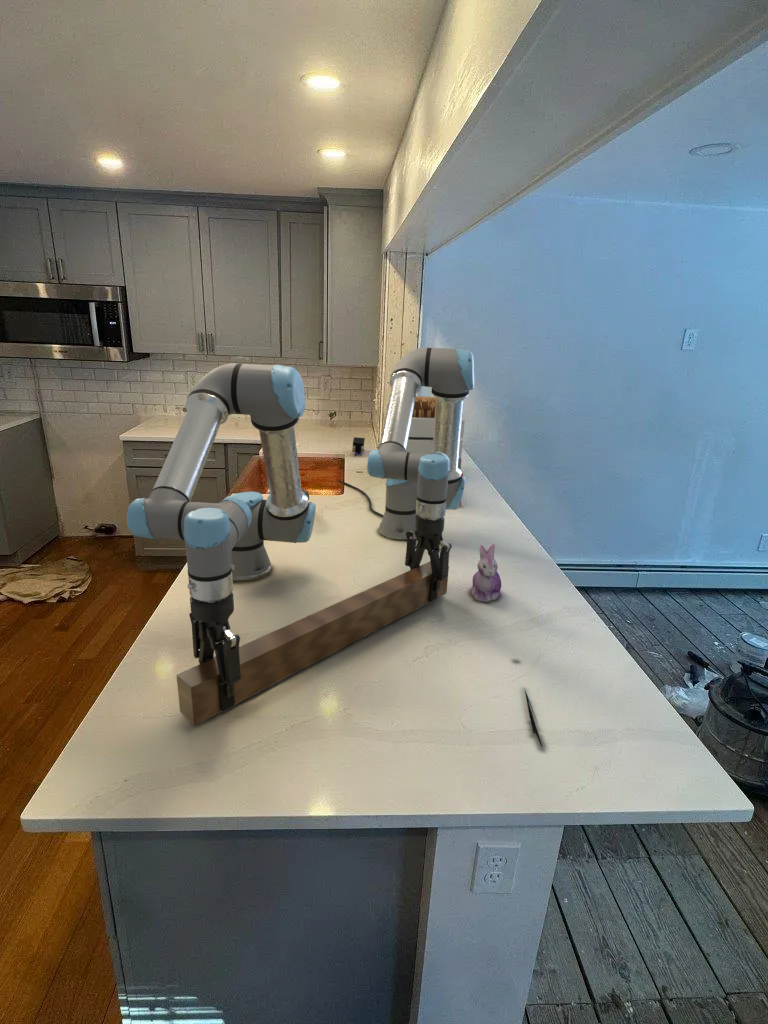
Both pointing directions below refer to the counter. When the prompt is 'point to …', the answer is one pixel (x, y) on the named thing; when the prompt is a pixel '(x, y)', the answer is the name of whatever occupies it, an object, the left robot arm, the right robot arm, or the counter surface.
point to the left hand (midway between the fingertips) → (218, 699)
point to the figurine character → (358, 445)
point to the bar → (305, 642)
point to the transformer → (426, 428)
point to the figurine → (486, 576)
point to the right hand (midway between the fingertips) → (423, 595)
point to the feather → (532, 718)
